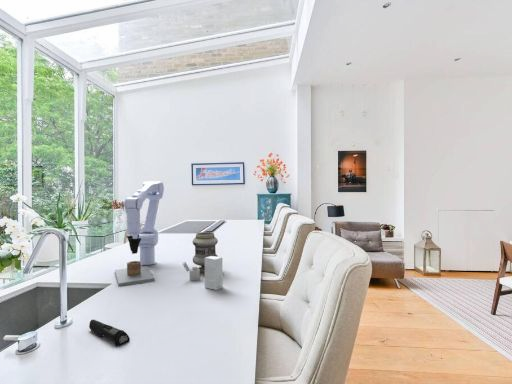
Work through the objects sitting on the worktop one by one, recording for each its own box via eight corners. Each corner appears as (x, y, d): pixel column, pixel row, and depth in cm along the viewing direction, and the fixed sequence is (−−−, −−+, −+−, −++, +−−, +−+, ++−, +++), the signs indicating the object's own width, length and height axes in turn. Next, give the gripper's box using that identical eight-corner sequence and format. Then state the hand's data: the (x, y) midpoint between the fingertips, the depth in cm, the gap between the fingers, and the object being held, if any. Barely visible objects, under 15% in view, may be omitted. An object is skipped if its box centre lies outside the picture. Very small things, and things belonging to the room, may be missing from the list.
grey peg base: (114, 272, 139) (114, 259, 139) (146, 268, 146) (146, 256, 146) (118, 286, 120) (118, 271, 120) (154, 280, 127) (154, 267, 126)
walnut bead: (126, 273, 134) (126, 262, 134) (139, 271, 136) (139, 260, 136) (128, 276, 129) (127, 264, 129) (141, 274, 132) (141, 263, 132)
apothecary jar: (187, 272, 139) (187, 233, 139) (203, 266, 150) (203, 230, 149) (208, 275, 133) (208, 235, 133) (223, 269, 144) (223, 232, 144)
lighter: (199, 278, 130) (199, 260, 130) (199, 279, 128) (199, 261, 128) (182, 279, 128) (182, 261, 128) (182, 281, 126) (182, 262, 126)
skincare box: (223, 287, 118) (222, 257, 118) (216, 290, 115) (216, 259, 114) (211, 284, 122) (210, 255, 121) (204, 287, 118) (204, 257, 118)
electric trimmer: (99, 327, 86) (98, 316, 86) (131, 341, 78) (130, 329, 78) (85, 332, 83) (85, 321, 83) (117, 348, 74) (117, 335, 74)
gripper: (144, 224, 135) (144, 254, 135) (140, 220, 148) (141, 248, 148) (127, 225, 132) (127, 255, 132) (125, 221, 145) (125, 249, 145)
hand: (133, 251), depth 140 cm, fingers open, 7 cm apart
